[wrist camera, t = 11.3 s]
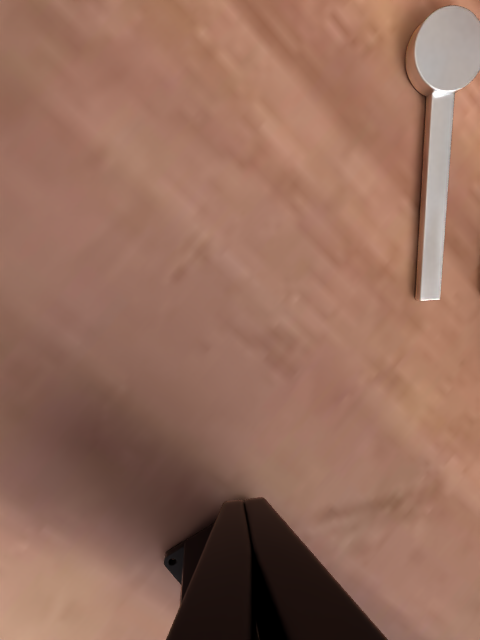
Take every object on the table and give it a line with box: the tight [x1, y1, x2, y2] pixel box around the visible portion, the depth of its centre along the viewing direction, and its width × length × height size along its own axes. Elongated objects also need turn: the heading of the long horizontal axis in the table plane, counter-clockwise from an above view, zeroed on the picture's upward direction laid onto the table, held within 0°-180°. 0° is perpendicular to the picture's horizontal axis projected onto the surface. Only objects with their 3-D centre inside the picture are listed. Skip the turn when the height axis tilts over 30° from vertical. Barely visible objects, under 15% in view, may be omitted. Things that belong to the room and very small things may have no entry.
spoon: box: [405, 5, 480, 301], centre depth 18 cm, size 14×4×1 cm, turn 3°
